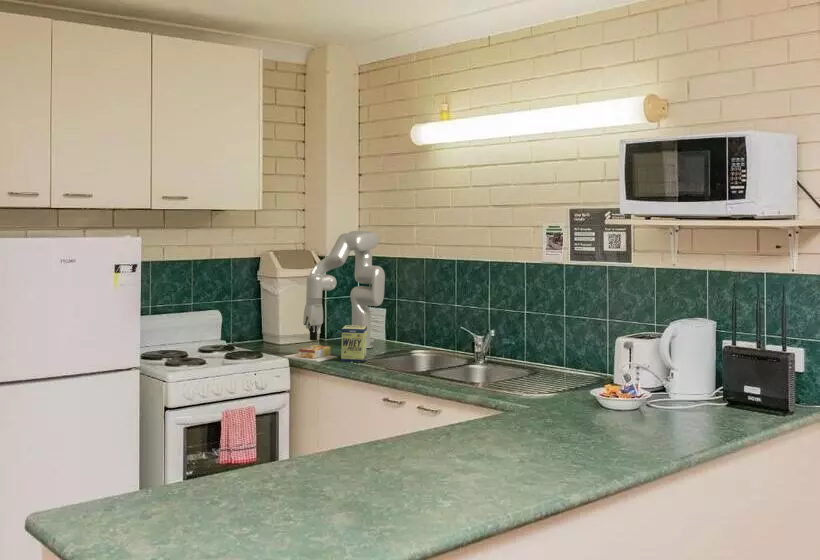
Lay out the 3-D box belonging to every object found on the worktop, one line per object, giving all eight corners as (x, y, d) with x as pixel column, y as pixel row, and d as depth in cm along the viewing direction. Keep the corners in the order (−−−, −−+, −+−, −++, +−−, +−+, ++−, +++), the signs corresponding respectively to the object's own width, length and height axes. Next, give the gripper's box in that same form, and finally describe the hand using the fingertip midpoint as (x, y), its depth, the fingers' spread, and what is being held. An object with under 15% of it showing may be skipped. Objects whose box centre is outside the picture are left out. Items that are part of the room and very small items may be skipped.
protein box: (340, 362, 418) (341, 328, 417) (344, 356, 433) (345, 324, 432) (363, 362, 417) (364, 329, 416) (366, 357, 433) (367, 325, 432)
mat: (304, 353, 440) (304, 352, 440) (337, 357, 430) (337, 356, 430) (283, 357, 426) (283, 356, 426) (317, 361, 416) (317, 360, 416)
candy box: (314, 353, 438) (298, 357, 424) (315, 344, 437) (298, 348, 423) (330, 354, 434) (314, 359, 420) (331, 346, 434) (315, 350, 420)
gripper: (317, 300, 436) (316, 337, 438) (298, 302, 424) (297, 341, 425) (329, 301, 432) (329, 339, 434) (310, 303, 420) (310, 342, 421)
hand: (313, 340), depth 429 cm, fingers closed
